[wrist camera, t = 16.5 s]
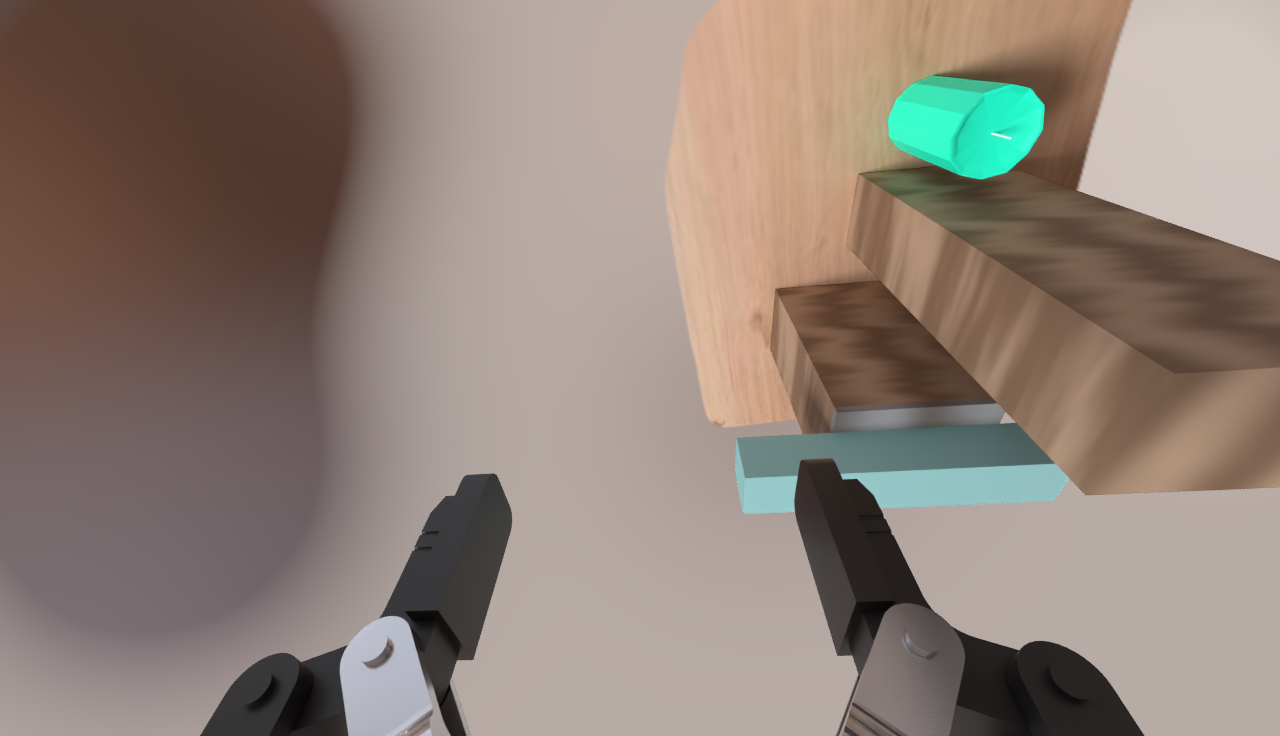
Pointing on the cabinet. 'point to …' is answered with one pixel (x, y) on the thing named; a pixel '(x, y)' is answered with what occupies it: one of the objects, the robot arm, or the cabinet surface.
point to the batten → (904, 466)
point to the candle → (967, 124)
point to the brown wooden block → (868, 364)
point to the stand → (1089, 324)
